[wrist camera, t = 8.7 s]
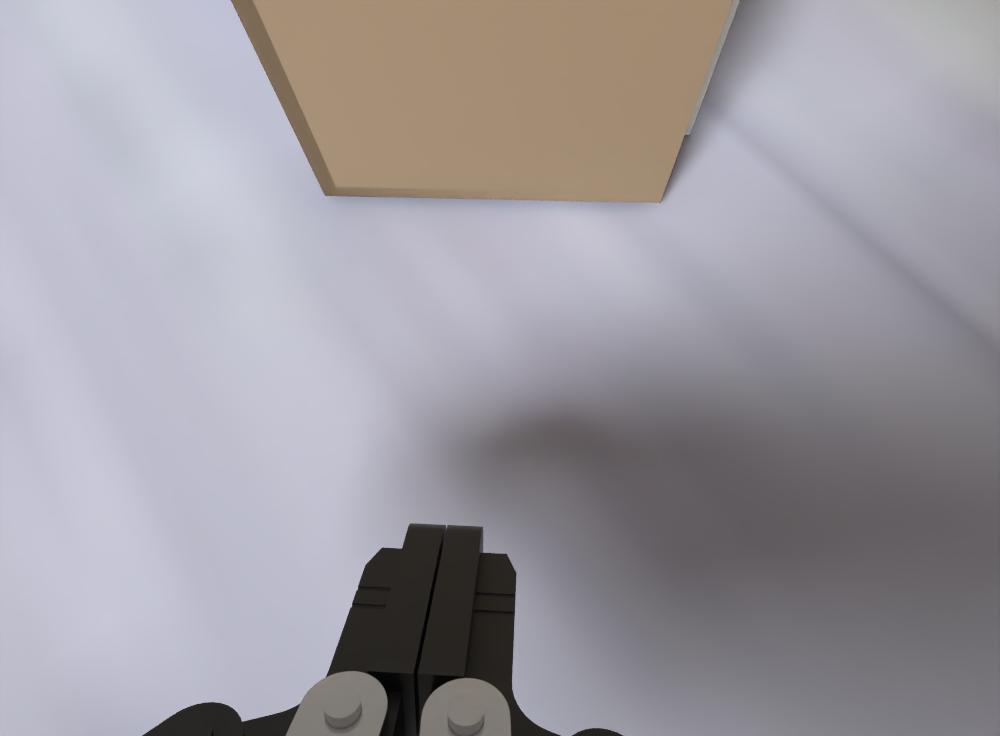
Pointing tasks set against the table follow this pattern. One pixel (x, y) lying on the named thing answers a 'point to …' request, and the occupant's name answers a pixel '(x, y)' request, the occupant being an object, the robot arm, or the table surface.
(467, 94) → the wooden drawer
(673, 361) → the table surface
